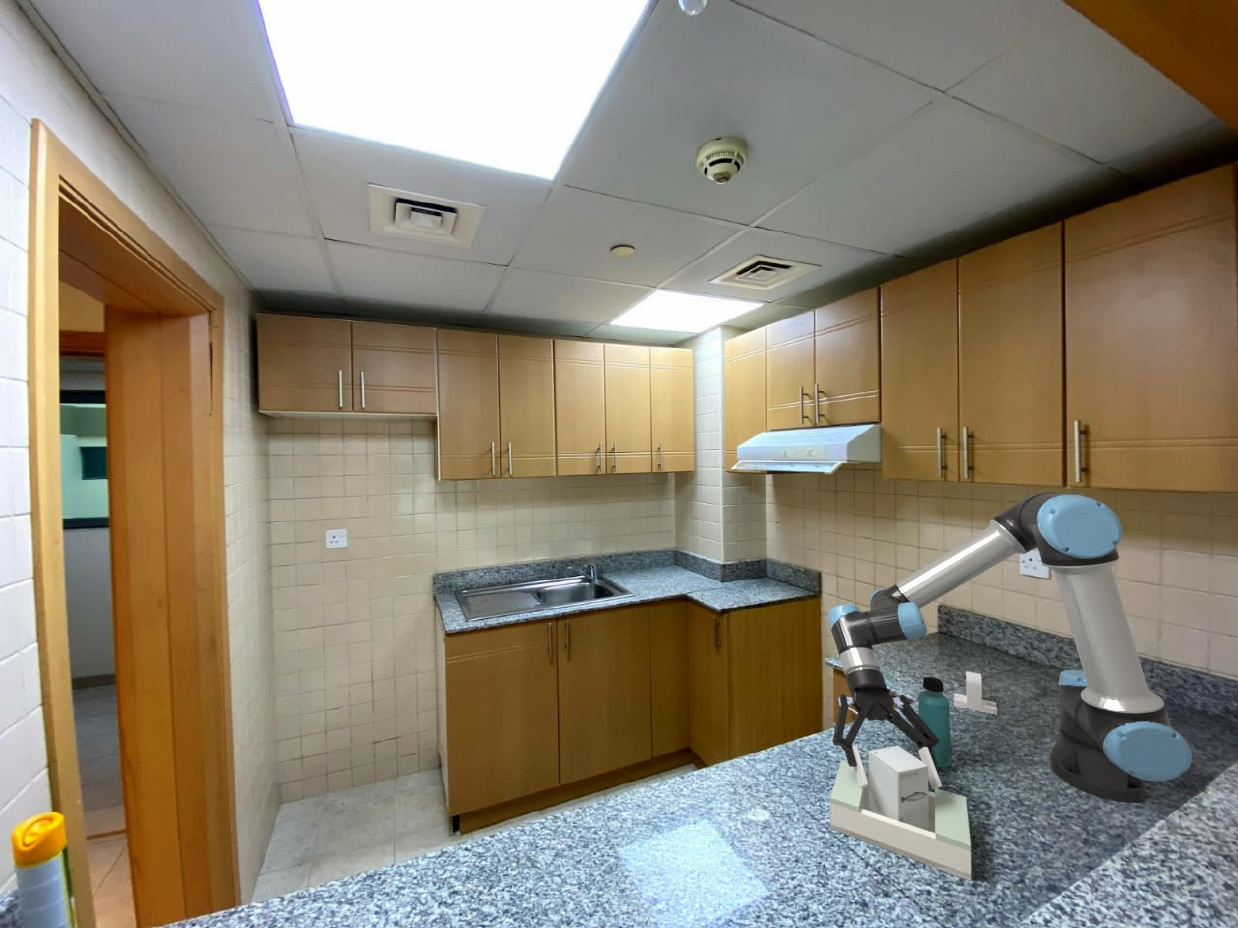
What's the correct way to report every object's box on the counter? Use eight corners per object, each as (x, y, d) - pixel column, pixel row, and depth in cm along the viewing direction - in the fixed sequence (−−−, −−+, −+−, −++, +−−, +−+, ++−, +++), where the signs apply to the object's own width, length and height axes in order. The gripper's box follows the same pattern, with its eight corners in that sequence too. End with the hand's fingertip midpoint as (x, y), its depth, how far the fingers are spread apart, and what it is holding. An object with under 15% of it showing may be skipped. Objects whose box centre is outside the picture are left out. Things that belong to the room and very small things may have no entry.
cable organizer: (953, 699, 144) (953, 665, 144) (995, 708, 139) (995, 673, 139) (953, 706, 140) (953, 672, 140) (997, 716, 134) (997, 680, 134)
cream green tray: (966, 828, 93) (965, 796, 93) (971, 880, 81) (970, 845, 81) (841, 787, 105) (841, 760, 105) (830, 828, 93) (830, 797, 93)
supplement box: (898, 841, 89) (897, 772, 89) (867, 813, 96) (867, 749, 96) (930, 833, 91) (929, 765, 91) (898, 806, 98) (897, 743, 98)
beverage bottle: (957, 775, 109) (956, 686, 109) (924, 772, 110) (923, 684, 110) (943, 758, 115) (943, 674, 115) (913, 755, 117) (912, 672, 117)
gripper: (914, 681, 109) (958, 792, 94) (802, 680, 110) (828, 790, 95) (928, 667, 104) (977, 783, 89) (809, 666, 105) (839, 780, 90)
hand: (900, 787), depth 92 cm, fingers open, 13 cm apart
